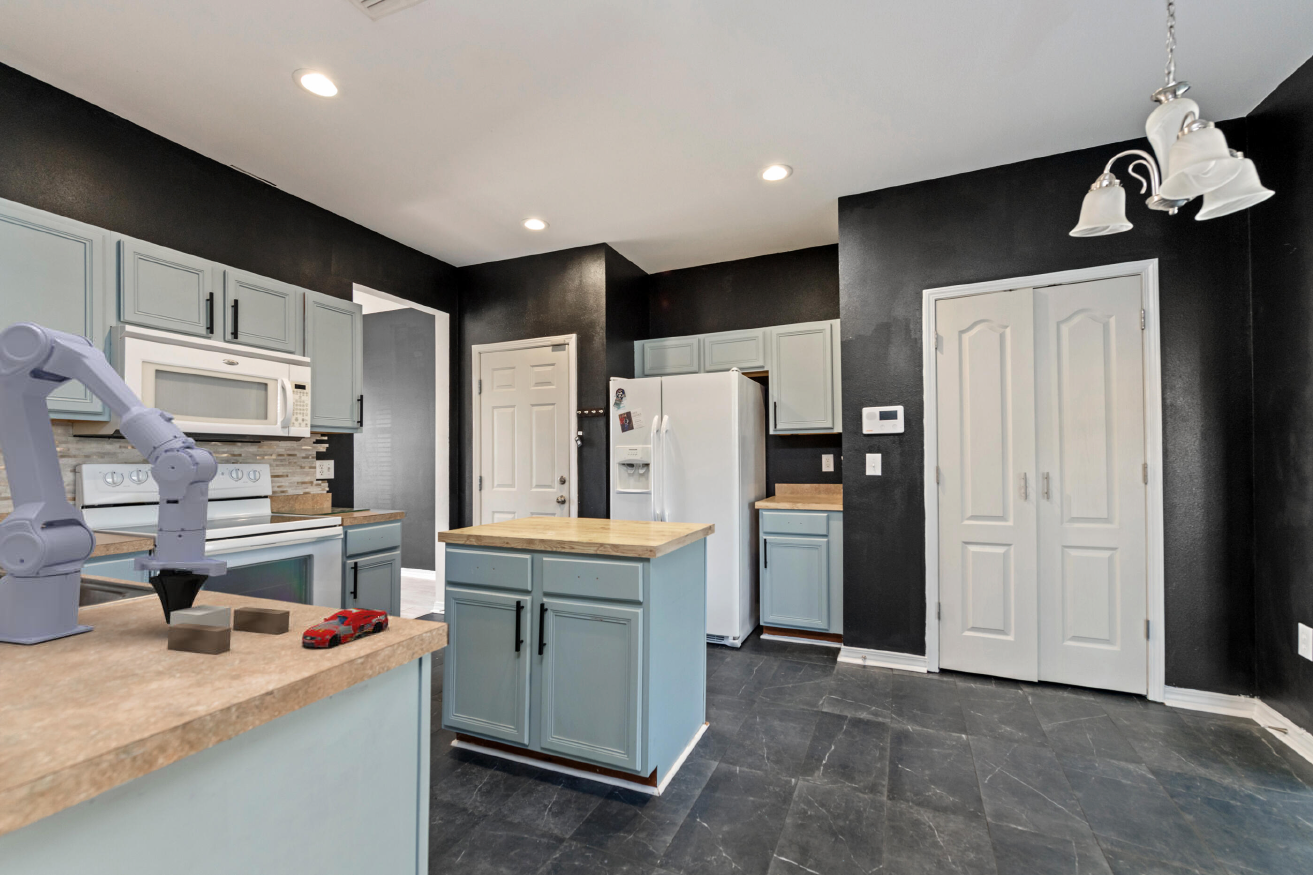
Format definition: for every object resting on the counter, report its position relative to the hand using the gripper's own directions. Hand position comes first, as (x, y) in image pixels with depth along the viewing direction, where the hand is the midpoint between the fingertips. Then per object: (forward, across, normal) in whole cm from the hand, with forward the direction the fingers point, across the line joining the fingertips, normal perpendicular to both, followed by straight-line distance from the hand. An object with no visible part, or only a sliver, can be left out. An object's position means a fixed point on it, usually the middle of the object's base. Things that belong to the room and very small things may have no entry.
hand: (176, 622), depth 90 cm
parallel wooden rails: (+2, +10, 0) cm, 10 cm away
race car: (+2, +24, +6) cm, 25 cm away
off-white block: (+2, +4, 0) cm, 5 cm away
